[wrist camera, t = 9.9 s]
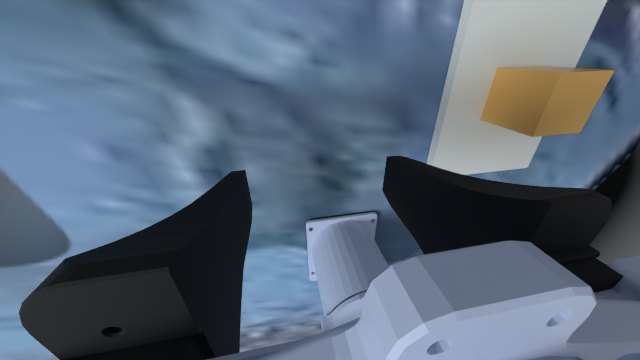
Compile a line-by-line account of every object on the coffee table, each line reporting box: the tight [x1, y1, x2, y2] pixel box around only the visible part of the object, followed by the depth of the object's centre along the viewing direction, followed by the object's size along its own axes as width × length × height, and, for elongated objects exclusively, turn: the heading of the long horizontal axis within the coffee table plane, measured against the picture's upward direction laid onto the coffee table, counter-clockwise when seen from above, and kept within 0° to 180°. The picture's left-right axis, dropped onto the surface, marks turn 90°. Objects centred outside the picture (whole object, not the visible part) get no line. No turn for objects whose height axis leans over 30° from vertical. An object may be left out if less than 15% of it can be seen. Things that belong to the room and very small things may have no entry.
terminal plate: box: [426, 0, 607, 175], centre depth 20 cm, size 16×12×4 cm
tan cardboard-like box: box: [480, 66, 615, 137], centre depth 19 cm, size 4×4×5 cm
